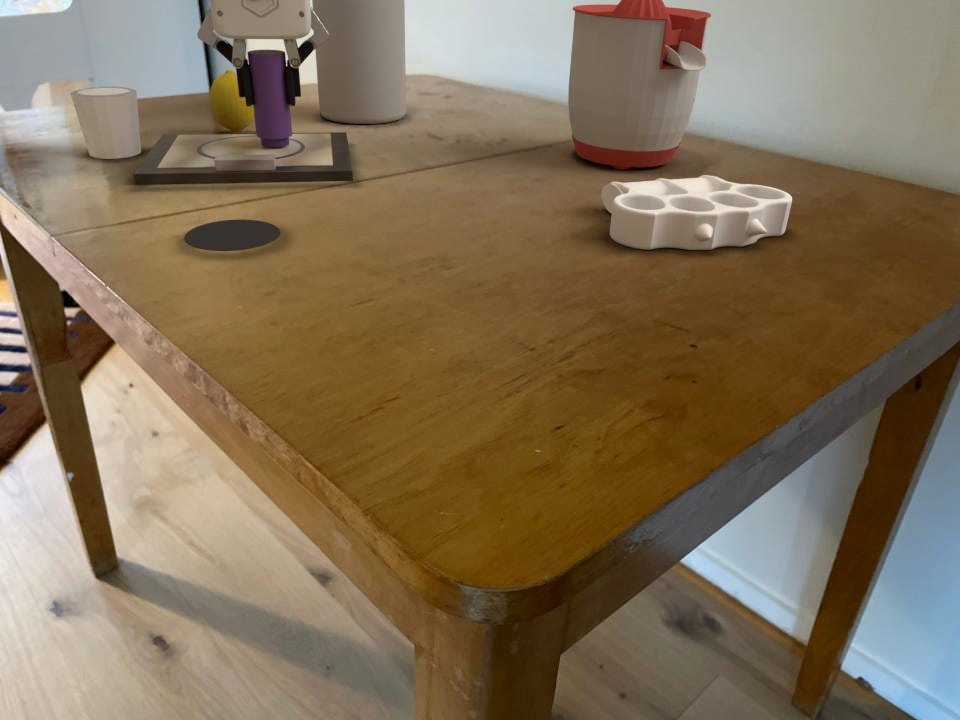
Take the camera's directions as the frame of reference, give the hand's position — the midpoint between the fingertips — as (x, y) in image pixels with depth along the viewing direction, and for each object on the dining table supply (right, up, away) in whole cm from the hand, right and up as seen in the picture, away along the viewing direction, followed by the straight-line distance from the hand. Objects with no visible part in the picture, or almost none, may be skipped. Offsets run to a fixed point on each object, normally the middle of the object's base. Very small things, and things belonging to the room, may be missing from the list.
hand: (271, 102), depth 88 cm
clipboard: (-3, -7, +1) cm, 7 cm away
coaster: (+2, -19, -20) cm, 27 cm away
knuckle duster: (+44, -17, -14) cm, 48 cm away
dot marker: (0, -4, +2) cm, 5 cm away
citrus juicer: (+42, -5, +9) cm, 43 cm away
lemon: (-8, 0, +14) cm, 16 cm away
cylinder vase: (+6, +6, +26) cm, 28 cm away
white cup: (-19, -5, +4) cm, 20 cm away
